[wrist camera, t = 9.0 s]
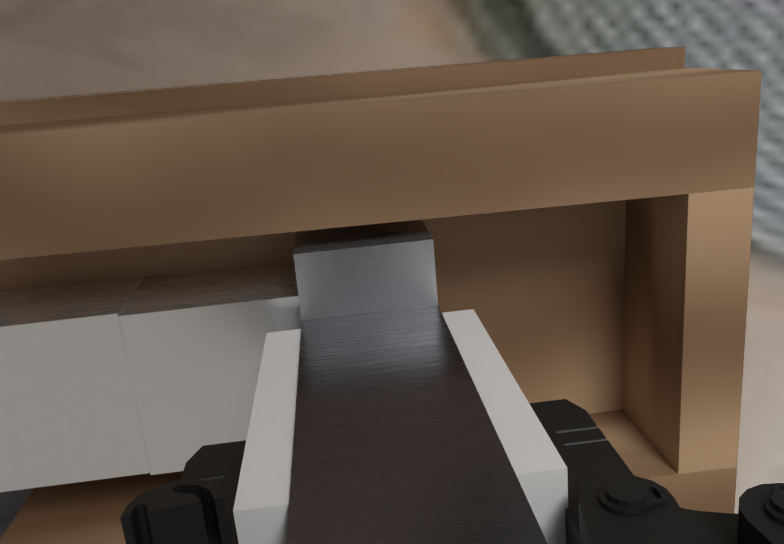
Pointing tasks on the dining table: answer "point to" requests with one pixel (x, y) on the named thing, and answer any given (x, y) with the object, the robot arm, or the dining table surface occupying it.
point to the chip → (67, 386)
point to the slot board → (434, 227)
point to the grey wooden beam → (390, 404)
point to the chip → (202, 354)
